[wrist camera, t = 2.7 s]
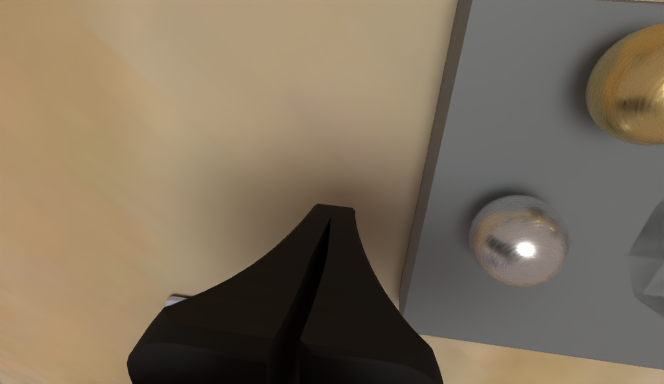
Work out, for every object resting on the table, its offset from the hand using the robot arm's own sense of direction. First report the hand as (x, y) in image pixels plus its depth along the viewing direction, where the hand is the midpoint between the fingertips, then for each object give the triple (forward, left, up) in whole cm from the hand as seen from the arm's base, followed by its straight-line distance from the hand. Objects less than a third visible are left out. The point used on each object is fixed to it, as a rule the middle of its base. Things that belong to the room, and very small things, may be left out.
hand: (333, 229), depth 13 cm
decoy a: (+5, -8, -1) cm, 10 cm away
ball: (0, -6, -1) cm, 7 cm away
